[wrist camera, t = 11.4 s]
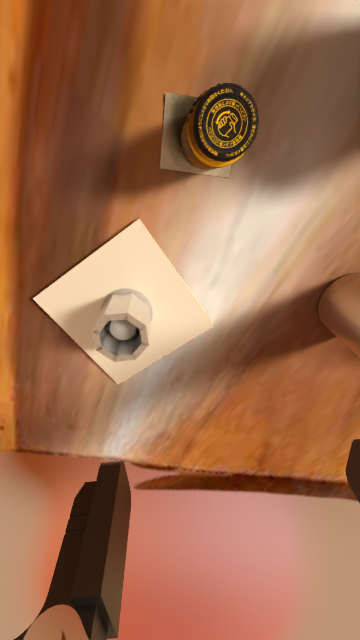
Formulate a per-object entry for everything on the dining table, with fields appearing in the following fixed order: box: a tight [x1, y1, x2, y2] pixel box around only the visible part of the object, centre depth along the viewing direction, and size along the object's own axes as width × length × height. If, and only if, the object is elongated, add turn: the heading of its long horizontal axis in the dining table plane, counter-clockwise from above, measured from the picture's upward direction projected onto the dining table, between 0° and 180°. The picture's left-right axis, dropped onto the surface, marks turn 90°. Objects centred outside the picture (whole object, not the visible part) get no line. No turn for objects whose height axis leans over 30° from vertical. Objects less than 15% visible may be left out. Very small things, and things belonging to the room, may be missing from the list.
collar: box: [91, 292, 151, 362], centre depth 38 cm, size 6×6×7 cm
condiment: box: [160, 83, 259, 178], centre depth 28 cm, size 7×8×12 cm
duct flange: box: [33, 219, 215, 385], centre depth 40 cm, size 18×18×6 cm
